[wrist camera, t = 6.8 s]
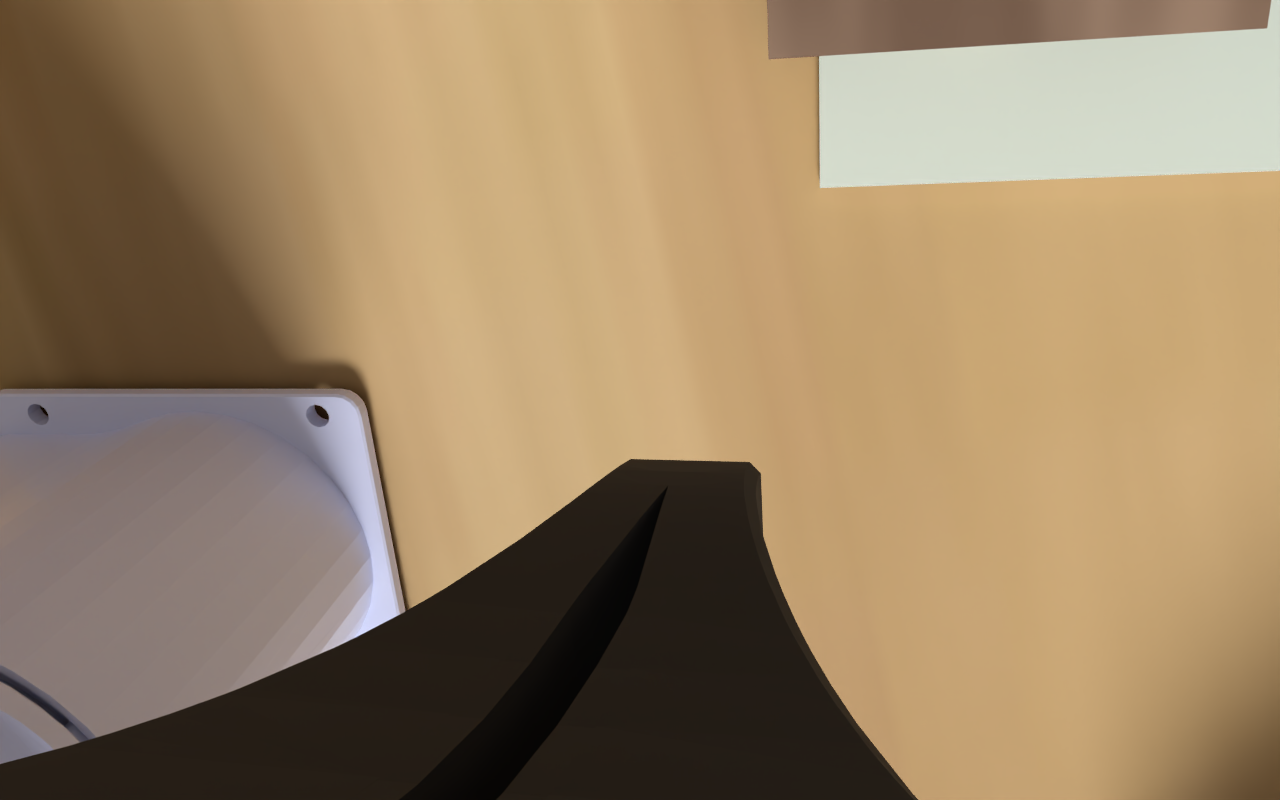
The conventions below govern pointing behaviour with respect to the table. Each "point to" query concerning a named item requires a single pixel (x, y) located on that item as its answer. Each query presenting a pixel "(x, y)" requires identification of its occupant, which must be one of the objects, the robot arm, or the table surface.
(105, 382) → the table surface
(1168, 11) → the slab
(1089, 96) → the mat
